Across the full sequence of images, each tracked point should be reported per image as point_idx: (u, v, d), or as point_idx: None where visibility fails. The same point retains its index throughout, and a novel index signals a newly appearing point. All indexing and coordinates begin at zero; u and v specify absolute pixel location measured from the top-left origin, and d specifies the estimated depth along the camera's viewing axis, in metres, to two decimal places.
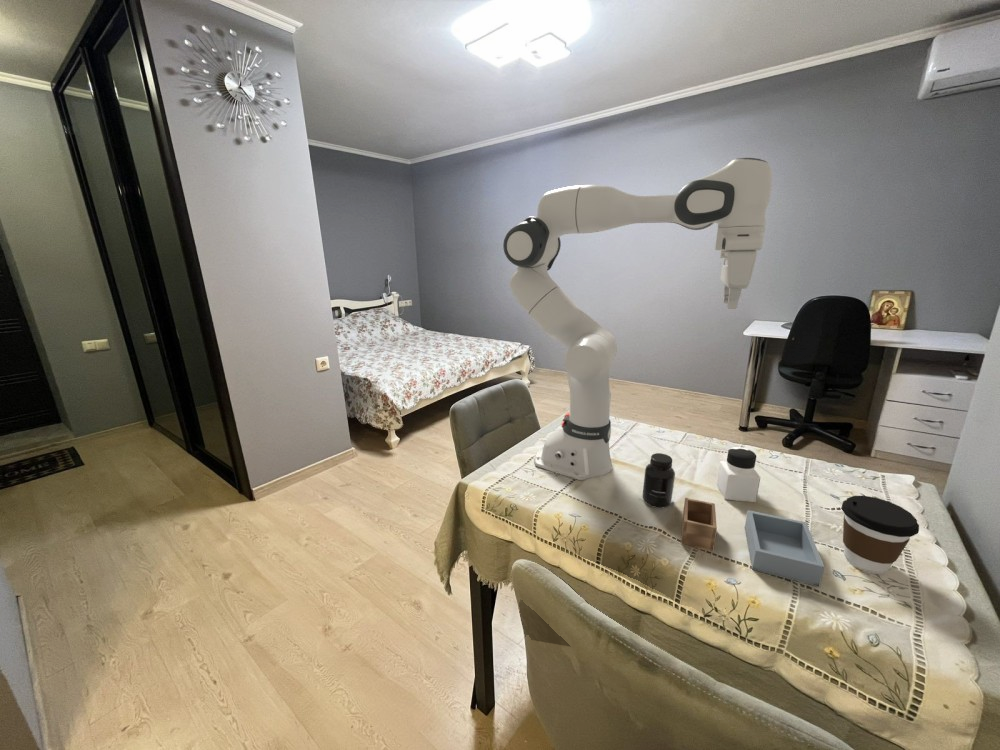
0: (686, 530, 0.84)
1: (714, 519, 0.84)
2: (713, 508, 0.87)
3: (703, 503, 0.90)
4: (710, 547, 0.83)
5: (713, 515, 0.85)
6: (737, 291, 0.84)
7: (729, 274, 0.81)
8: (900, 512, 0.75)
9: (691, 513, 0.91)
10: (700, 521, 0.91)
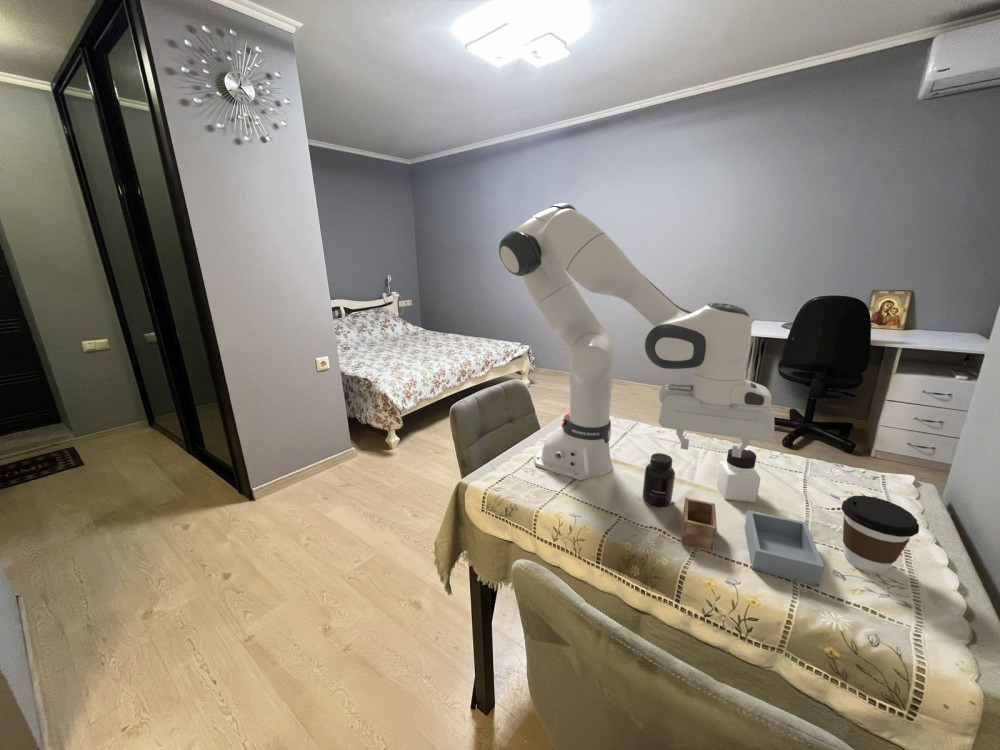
0: (686, 530, 0.84)
1: (714, 519, 0.84)
2: (713, 508, 0.87)
3: (703, 503, 0.90)
4: (710, 547, 0.83)
5: (713, 515, 0.85)
6: None
7: (773, 429, 0.74)
8: (900, 512, 0.75)
9: (691, 513, 0.91)
10: (700, 521, 0.91)
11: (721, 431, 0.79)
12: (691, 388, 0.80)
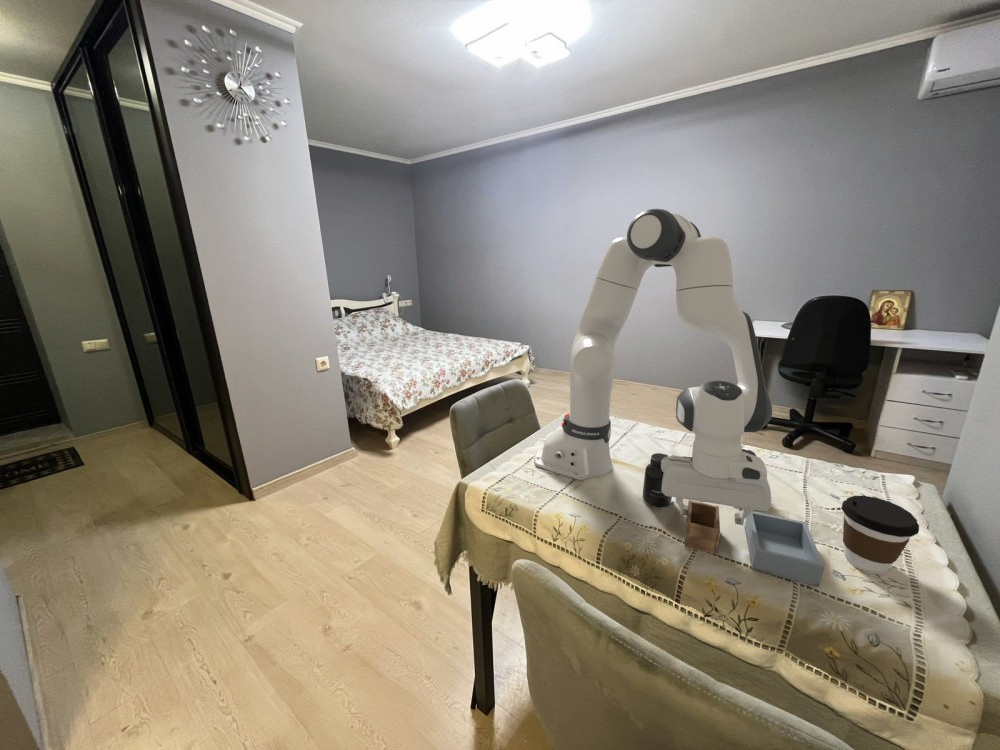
0: (689, 533, 0.84)
1: (718, 522, 0.83)
2: (717, 511, 0.87)
3: (707, 506, 0.89)
4: (713, 550, 0.82)
5: (717, 518, 0.85)
6: None
7: (770, 500, 0.79)
8: (900, 512, 0.75)
9: (695, 515, 0.91)
10: (704, 524, 0.90)
11: (721, 501, 0.83)
12: (691, 460, 0.84)
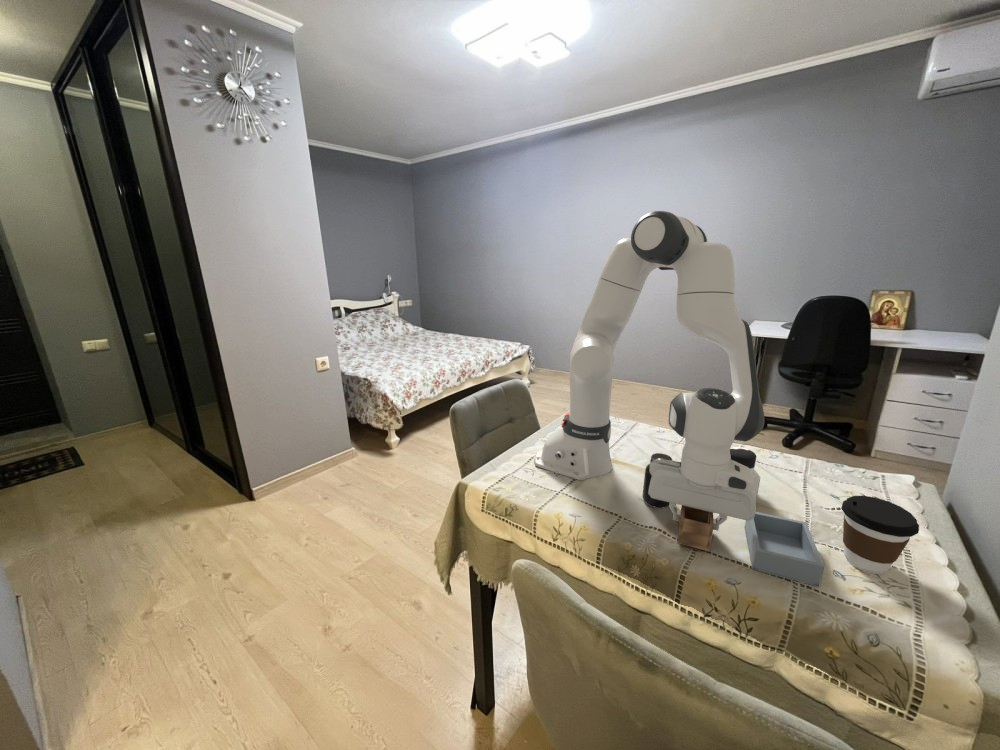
0: (683, 528, 0.83)
1: (711, 518, 0.83)
2: None
3: None
4: (706, 546, 0.82)
5: (710, 514, 0.84)
6: None
7: (754, 510, 0.79)
8: (900, 512, 0.75)
9: (689, 511, 0.90)
10: (698, 520, 0.90)
11: (706, 507, 0.83)
12: (679, 465, 0.85)
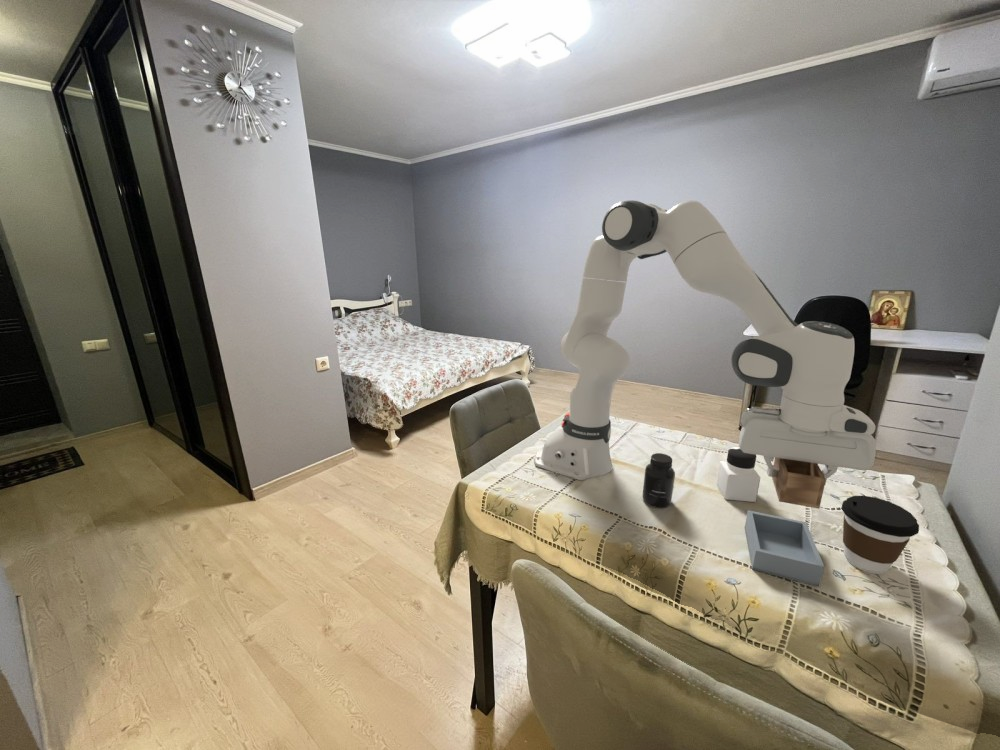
0: (786, 484, 0.73)
1: (819, 470, 0.73)
2: None
3: None
4: (816, 502, 0.72)
5: (816, 466, 0.74)
6: None
7: (874, 458, 0.69)
8: (900, 512, 0.75)
9: None
10: None
11: (812, 459, 0.73)
12: (779, 412, 0.74)
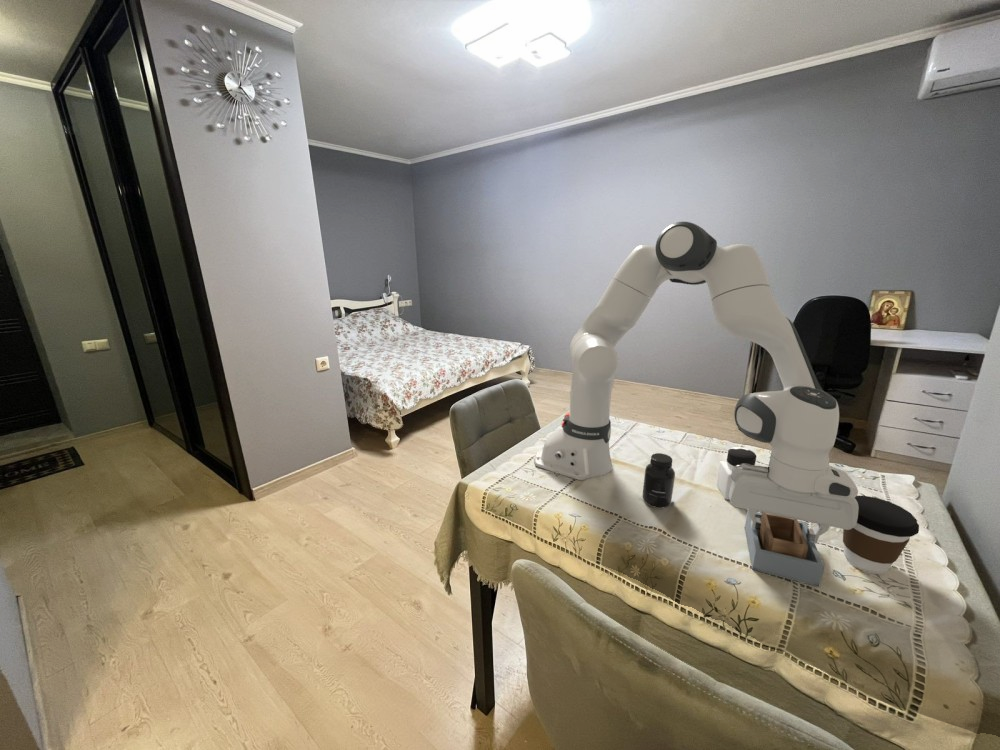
0: (772, 549, 0.77)
1: (802, 536, 0.77)
2: (797, 524, 0.81)
3: (784, 518, 0.83)
4: None
5: (799, 532, 0.79)
6: None
7: (856, 519, 0.73)
8: (900, 512, 0.75)
9: None
10: (779, 537, 0.84)
11: (799, 516, 0.77)
12: (767, 470, 0.78)
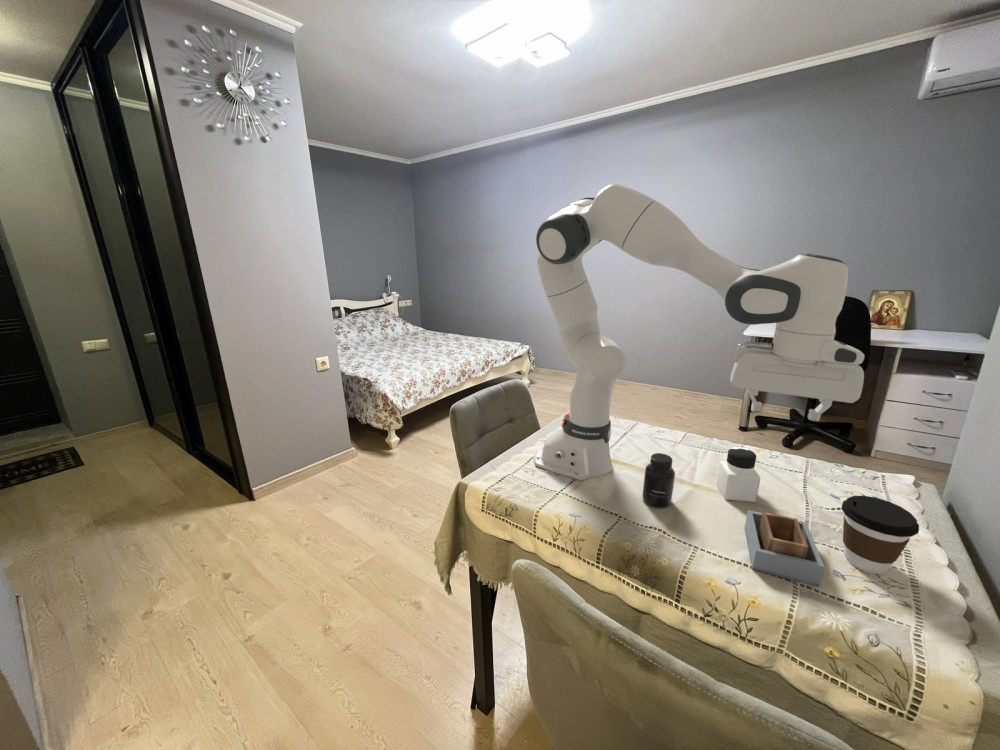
0: (772, 549, 0.77)
1: (802, 536, 0.77)
2: (797, 524, 0.81)
3: (784, 518, 0.83)
4: None
5: (799, 532, 0.79)
6: None
7: (861, 389, 0.71)
8: (900, 512, 0.75)
9: None
10: (779, 537, 0.84)
11: (802, 392, 0.74)
12: (771, 346, 0.76)
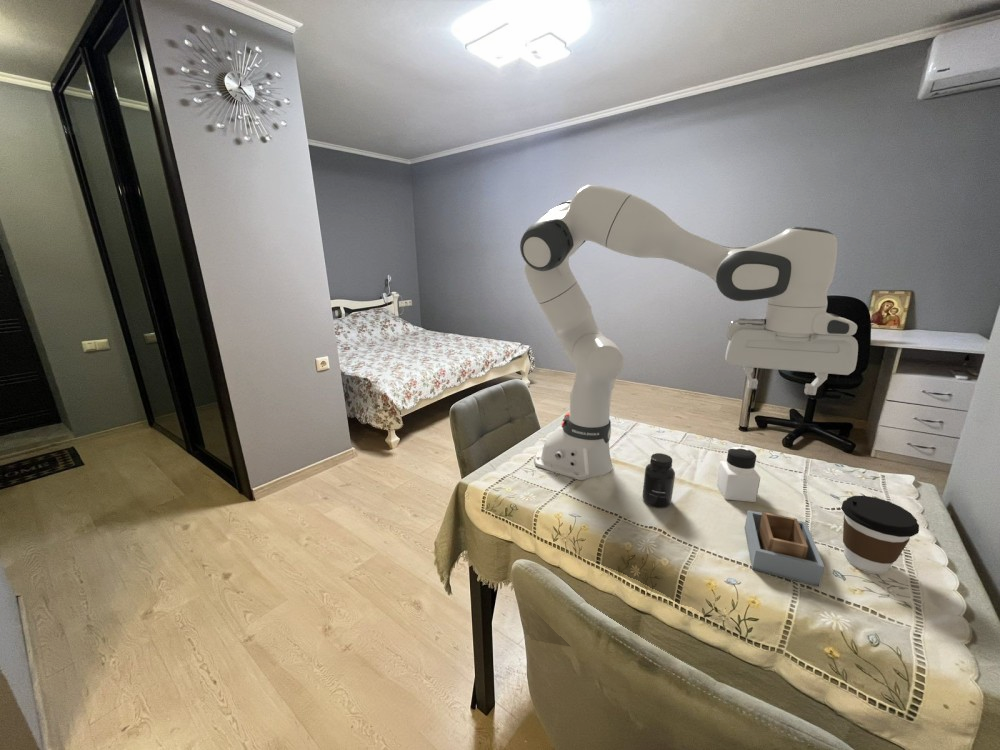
0: (772, 549, 0.77)
1: (802, 536, 0.77)
2: (797, 524, 0.81)
3: (784, 518, 0.83)
4: None
5: (799, 532, 0.79)
6: None
7: (856, 360, 0.70)
8: (900, 512, 0.75)
9: None
10: (779, 537, 0.84)
11: (796, 366, 0.74)
12: (764, 321, 0.76)
